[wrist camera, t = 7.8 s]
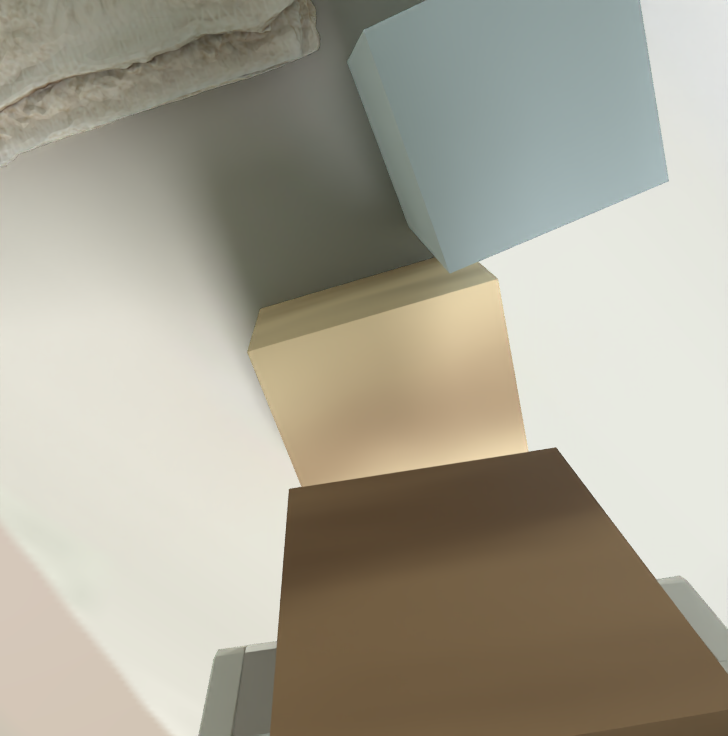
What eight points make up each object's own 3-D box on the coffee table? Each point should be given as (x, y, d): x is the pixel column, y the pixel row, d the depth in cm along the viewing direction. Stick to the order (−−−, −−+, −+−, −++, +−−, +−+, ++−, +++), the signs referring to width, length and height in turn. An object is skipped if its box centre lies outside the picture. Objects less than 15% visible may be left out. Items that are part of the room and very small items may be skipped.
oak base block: (260, 306, 18) (247, 351, 15) (461, 247, 18) (497, 278, 15) (322, 470, 21) (324, 542, 18) (496, 422, 21) (534, 484, 17)
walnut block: (288, 489, 10) (266, 787, 5) (555, 447, 10) (752, 706, 6) (330, 674, 12) (339, 1006, 7) (553, 638, 12) (695, 943, 8)
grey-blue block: (346, 61, 16) (363, 29, 10) (513, -17, 15) (625, -95, 10) (408, 226, 18) (449, 273, 12) (556, 161, 17) (668, 181, 12)
